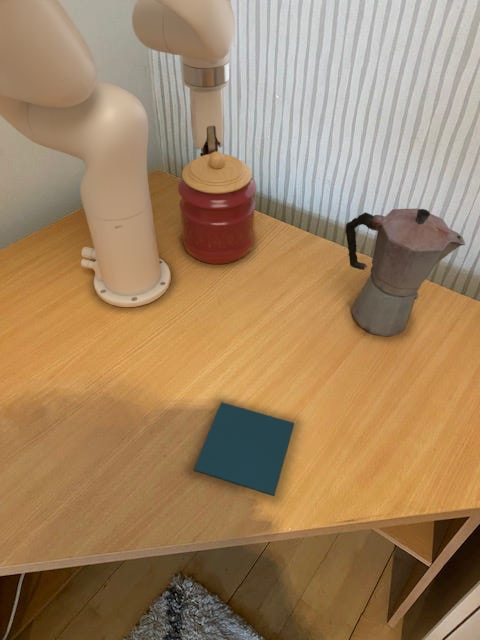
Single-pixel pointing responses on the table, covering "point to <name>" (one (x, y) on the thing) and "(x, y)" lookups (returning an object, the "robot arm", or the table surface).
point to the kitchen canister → (217, 208)
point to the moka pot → (397, 265)
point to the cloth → (245, 448)
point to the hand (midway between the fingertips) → (210, 173)
